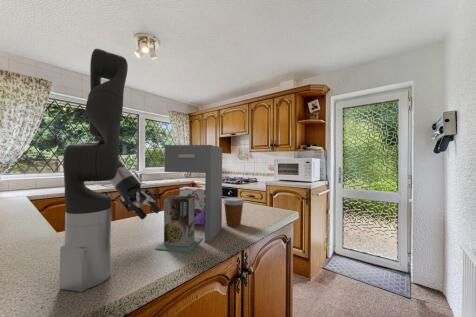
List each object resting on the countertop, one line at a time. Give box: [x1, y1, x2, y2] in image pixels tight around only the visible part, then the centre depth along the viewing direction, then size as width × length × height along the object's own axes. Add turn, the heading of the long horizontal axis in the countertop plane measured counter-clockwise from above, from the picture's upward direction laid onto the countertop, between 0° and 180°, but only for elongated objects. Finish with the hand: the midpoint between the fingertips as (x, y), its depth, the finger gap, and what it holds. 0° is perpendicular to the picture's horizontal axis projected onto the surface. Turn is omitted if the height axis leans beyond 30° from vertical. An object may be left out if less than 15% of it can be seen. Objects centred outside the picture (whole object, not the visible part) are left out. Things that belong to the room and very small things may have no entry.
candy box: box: [178, 186, 205, 226], centre depth 100 cm, size 14×6×16 cm, turn 73°
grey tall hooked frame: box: [164, 144, 223, 244], centre depth 84 cm, size 17×18×35 cm
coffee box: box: [163, 195, 195, 247], centre depth 74 cm, size 9×6×16 cm
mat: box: [154, 236, 203, 253], centre depth 74 cm, size 12×12×1 cm
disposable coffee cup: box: [222, 196, 245, 228], centre depth 96 cm, size 10×10×12 cm
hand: (152, 214), depth 76 cm, fingers open, 8 cm apart
